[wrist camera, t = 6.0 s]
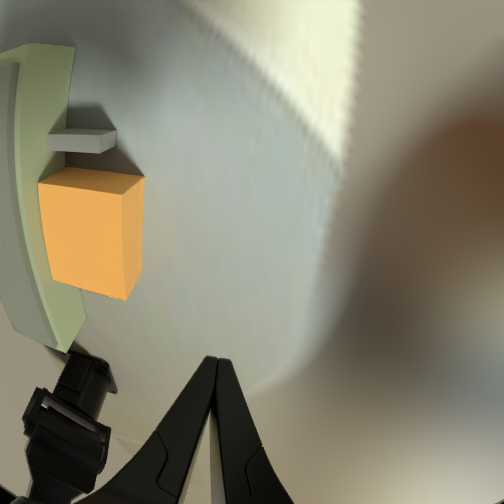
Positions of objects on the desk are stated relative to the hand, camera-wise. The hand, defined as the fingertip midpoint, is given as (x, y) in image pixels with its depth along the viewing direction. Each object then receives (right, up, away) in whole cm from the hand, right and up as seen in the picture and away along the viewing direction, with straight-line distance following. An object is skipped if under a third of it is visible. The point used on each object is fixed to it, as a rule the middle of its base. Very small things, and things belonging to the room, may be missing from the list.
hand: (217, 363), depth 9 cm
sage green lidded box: (-13, +7, +7) cm, 16 cm away
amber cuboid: (-9, +6, +8) cm, 13 cm away
